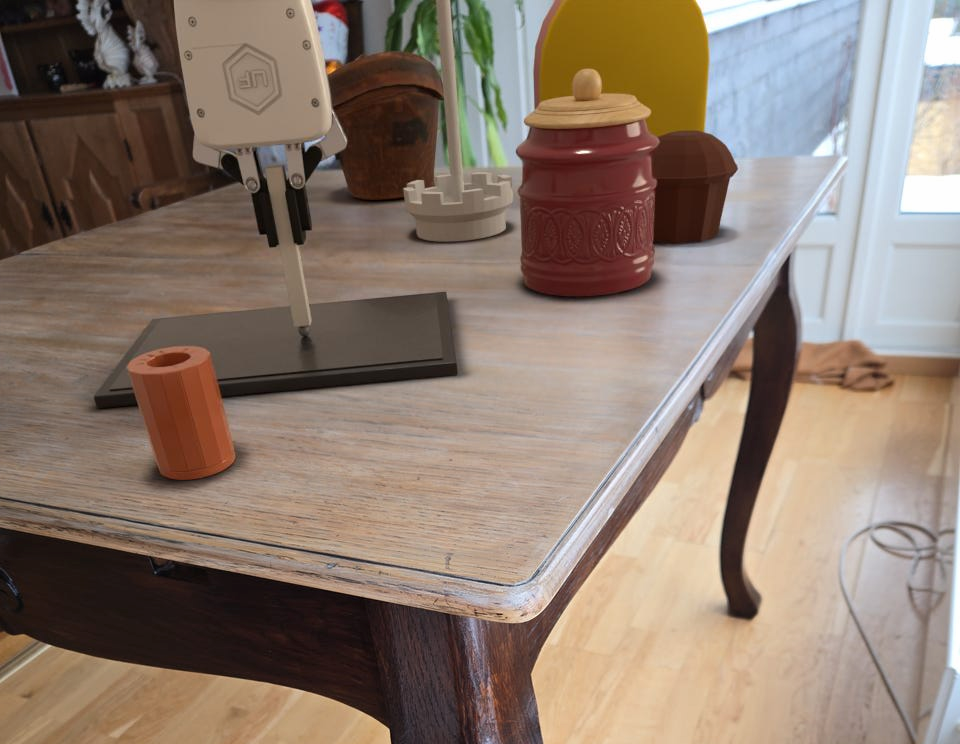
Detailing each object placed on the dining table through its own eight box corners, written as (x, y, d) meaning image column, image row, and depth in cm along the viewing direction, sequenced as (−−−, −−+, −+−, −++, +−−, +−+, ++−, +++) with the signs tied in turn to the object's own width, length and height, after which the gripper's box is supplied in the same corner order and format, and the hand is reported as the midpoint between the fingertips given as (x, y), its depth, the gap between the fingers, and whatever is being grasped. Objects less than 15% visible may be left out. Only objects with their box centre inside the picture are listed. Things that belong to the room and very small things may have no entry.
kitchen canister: (619, 304, 81) (624, 75, 70) (496, 292, 87) (484, 79, 76) (674, 267, 89) (685, 58, 79) (559, 258, 95) (556, 63, 85)
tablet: (97, 409, 69) (92, 395, 68) (154, 329, 85) (151, 317, 84) (457, 374, 69) (456, 360, 68) (447, 301, 85) (446, 290, 85)
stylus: (296, 339, 76) (264, 168, 68) (297, 334, 77) (266, 165, 69) (312, 338, 76) (282, 166, 68) (314, 333, 77) (284, 164, 69)
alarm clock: (685, 180, 125) (699, -58, 109) (702, 192, 117) (719, -61, 102) (536, 193, 125) (529, -43, 109) (543, 206, 117) (536, -45, 102)
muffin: (606, 237, 101) (607, 137, 95) (671, 218, 107) (676, 123, 101) (688, 252, 94) (695, 144, 88) (753, 231, 99) (764, 128, 93)
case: (381, 178, 144) (365, 45, 134) (479, 184, 134) (470, 40, 123) (301, 201, 133) (276, 58, 123) (401, 209, 123) (384, 54, 112)
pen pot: (151, 483, 57) (117, 377, 53) (168, 450, 61) (137, 349, 57) (229, 476, 57) (201, 369, 53) (240, 443, 61) (215, 342, 57)
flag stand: (510, 240, 103) (494, -93, 86) (400, 246, 105) (362, -80, 87) (517, 216, 114) (504, -86, 96) (417, 221, 115) (386, -74, 98)
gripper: (106, -36, 58) (182, 262, 69) (345, -56, 58) (383, 244, 69) (134, -33, 64) (200, 240, 75) (351, -52, 64) (385, 224, 75)
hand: (288, 240), depth 72 cm, fingers closed on stylus, 1 cm apart
